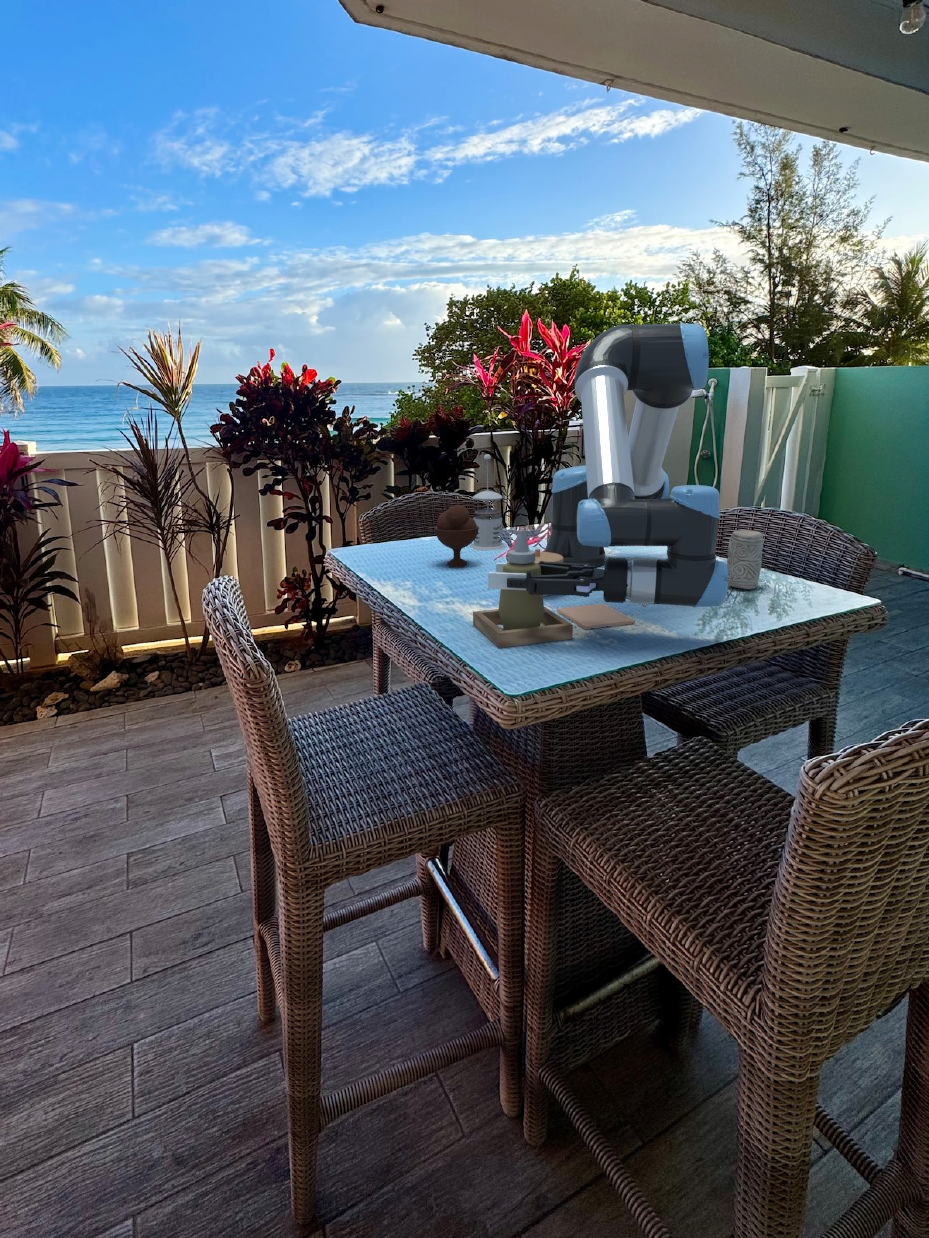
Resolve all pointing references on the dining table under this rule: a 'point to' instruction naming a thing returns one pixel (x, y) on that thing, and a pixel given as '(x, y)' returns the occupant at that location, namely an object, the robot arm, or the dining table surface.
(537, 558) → the lidded jar
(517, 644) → the wooden frame
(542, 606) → the squeeze bottle
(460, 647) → the dining table surface
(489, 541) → the french press
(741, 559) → the carving
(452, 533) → the ice cream bowl
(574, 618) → the tile
